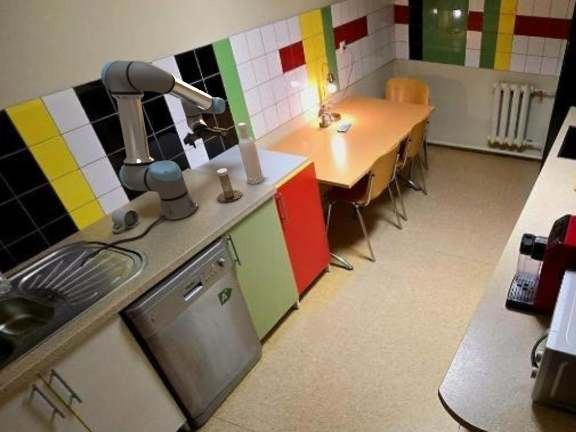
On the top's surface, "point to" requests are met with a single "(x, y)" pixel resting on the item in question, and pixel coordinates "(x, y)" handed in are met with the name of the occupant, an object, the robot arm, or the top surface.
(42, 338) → the top surface
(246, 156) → the bottle
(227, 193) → the sprinkles bottle
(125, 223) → the ceramic mug
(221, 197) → the disc
